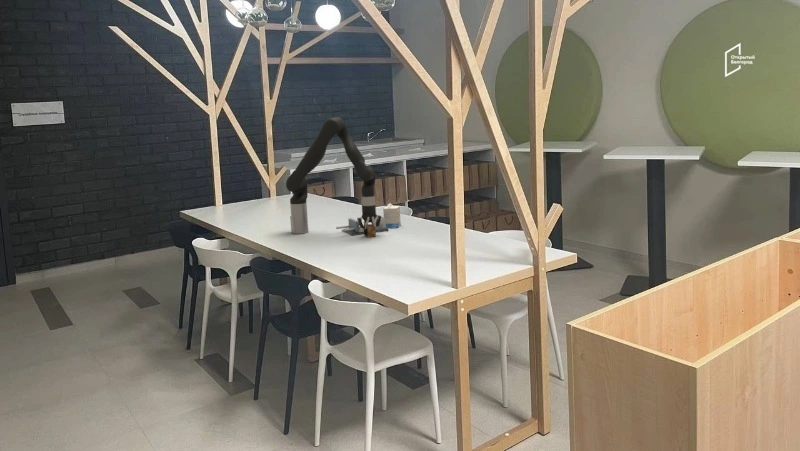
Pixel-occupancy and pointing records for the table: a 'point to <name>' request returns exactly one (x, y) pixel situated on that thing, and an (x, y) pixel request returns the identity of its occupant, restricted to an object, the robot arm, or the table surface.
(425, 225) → the table surface
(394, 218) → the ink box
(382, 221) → the vise base
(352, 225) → the sliding jaw
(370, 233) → the block
